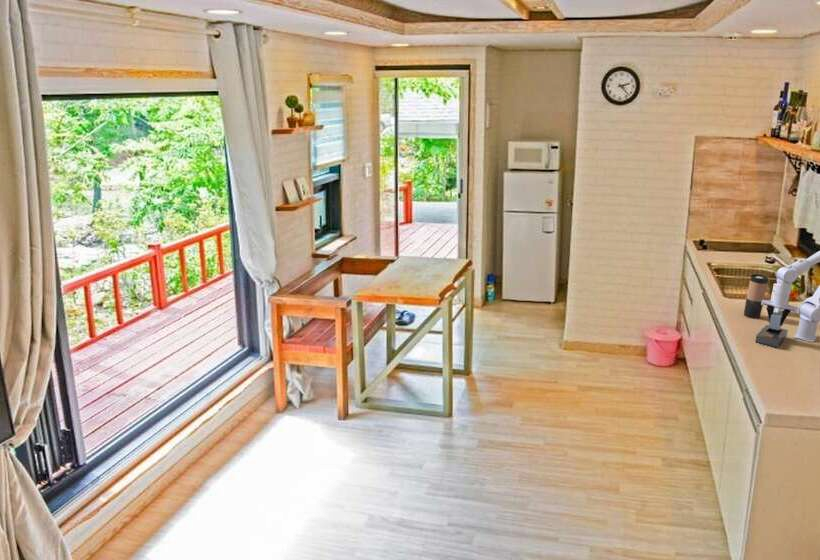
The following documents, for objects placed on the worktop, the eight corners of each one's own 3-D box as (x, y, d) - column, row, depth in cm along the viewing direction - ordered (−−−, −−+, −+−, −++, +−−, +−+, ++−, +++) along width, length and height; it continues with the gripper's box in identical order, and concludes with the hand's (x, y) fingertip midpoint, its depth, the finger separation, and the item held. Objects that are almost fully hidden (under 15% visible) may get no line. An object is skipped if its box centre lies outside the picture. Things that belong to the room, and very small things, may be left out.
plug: (771, 324, 326) (774, 311, 324) (781, 326, 323) (784, 314, 321) (768, 327, 321) (771, 315, 319) (778, 330, 319) (781, 317, 317)
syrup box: (777, 314, 356) (783, 286, 352) (767, 310, 362) (773, 282, 357) (786, 314, 358) (792, 285, 354) (776, 310, 363) (782, 282, 359)
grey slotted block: (764, 332, 331) (766, 323, 330) (786, 337, 326) (788, 328, 324) (755, 342, 317) (756, 333, 316) (777, 348, 312) (779, 339, 311)
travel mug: (763, 317, 351) (771, 277, 345) (754, 319, 347) (762, 279, 341) (748, 312, 357) (756, 273, 351) (739, 314, 353) (747, 275, 347)
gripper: (762, 292, 319) (755, 321, 323) (798, 300, 310) (791, 330, 314) (765, 289, 324) (759, 317, 328) (801, 296, 316) (794, 326, 320)
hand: (775, 323), depth 322 cm, fingers closed on plug, 4 cm apart
